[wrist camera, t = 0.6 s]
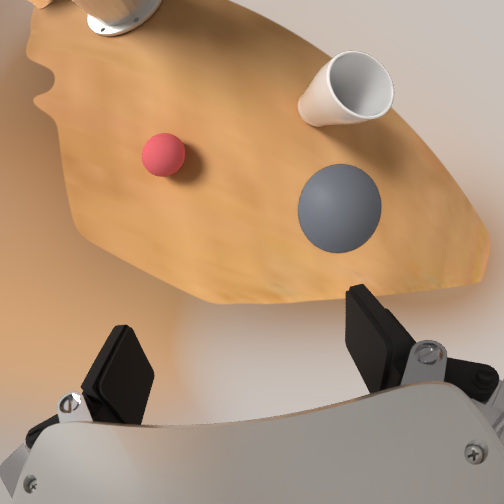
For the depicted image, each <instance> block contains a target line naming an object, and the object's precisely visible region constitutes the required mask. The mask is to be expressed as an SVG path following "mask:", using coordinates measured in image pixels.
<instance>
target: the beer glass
mask: <svg viewBox="0 0 504 504" xmlns="http://www.w3.org/2000/svg"><path fill="white" fill-rule="evenodd" d="M28 1H30V2H32V3H33V4H34V5H35V6H36V7H37V8H38V9H41V8H44V7H46V6H47V5H49V4H50V3H51V2H52V1H53V0H28Z"/></svg>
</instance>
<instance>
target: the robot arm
mask: <svg viewBox="0 0 504 504" xmlns="http://www.w3.org/2000/svg"><path fill="white" fill-rule="evenodd" d="M71 1H73V2H74V3H75V4H76V5H78V6H79V7H80V8H81V9H83V10H84V11H85V12H86V13H88V18H87V20H88V25H89V27H90V29H91V30H92V31H93V32H95V33H96V34H99V35H101V36H115V35H120V34H123V33H126V32H128V31H130V30H132V29H134V28H136V27H138V26H139V25H141V24H142V23H144V22H145V21H146V20H147V19H149V18H150V17H151V16H152V15H153V14H154V13H155V11H156V10H157V9H158V7H159V5H160V4H161V2H162V0H71ZM345 342H346V346H347V349H348V351H349V352H350V355H351V356H352V358H353V360H354V362H355V364H356V366H357V368H358V370H359V372H360V374H361V376H362V378H363V380H364V382H365V384H366V386H367V388H368V390H369V392H370V394H368V395H365V396H361V397H358V398H355V399H351V400H347V401H343V402H339V403H335V404H331V405H327V406H323V407H319V408H315V409H311V410H306V411H302V412H297V413H291V414H286V415H280V416H274V417H268V418H261V419H254V420H246V421H238V422H228V423H215V424H199V425H141V423H142V419H143V415H144V411H145V408H146V404H147V401H148V397H149V394H150V390H151V387H152V383H153V380H154V371H153V369H152V367H151V365H150V363H149V361H148V359H147V357H146V355H145V354H144V352H143V349H142V348H141V345H140V343H139V341H138V339H137V337H136V335H135V333H134V330H133V329H132V328H131V327H129V326H128V325H118V326H115V327H114V328H113V330H112V332H111V333H110V335H109V337H108V338H107V340H106V342H105V344H104V345H103V347H102V349H101V350H100V352H99V354H98V356H97V358H96V359H95V361H94V363H93V365H92V366H91V368H90V370H89V372H88V374H87V376H86V378H85V380H84V382H83V383H82V385H81V388H82V389H83V392H82V394H81V393H80V392H76V391H74V392H69V393H67V394H65V395H64V396H62V397H61V398H60V400H59V401H58V404H57V413H58V414H56V415H55V416H53V417H51V418H49V419H48V420H46V421H44V422H42V423H40V424H38V425H37V426H35V427H33V428H32V429H30V430H29V432H28V434H27V436H26V445H24V444H22V445H21V446H20V447H19V448H18V449H16V450H15V451H14V452H13V453H12V454H11V455H10V456H9V457H8V458H7V459H6V460H5V461H4V462H3V463H2V464H1V466H0V477H1V479H2V481H3V483H4V484H5V486H6V488H7V490H8V492H9V494H10V495H11V497H12V502H11V504H504V380H503V381H501V380H499V375H498V373H497V371H496V370H495V369H494V368H492V367H491V366H489V365H486V364H481V363H475V362H469V361H464V360H458V359H453V358H448V357H447V351H446V349H445V347H444V346H442V344H440V343H438V342H436V341H432V340H424V341H420V342H418V343H416V342H415V340H414V339H413V338H412V337H411V335H410V334H409V333H408V332H407V331H406V330H405V328H404V327H403V326H402V325H401V324H400V323H399V321H398V320H397V319H396V318H395V316H394V315H393V314H392V313H391V312H390V311H389V310H388V309H386V308H384V307H383V306H382V305H381V304H380V303H379V301H378V300H377V299H376V298H375V297H374V296H373V294H372V293H371V292H370V291H369V290H368V289H367V288H366V286H365V285H364V284H360V285H355V286H351V287H350V288H349V291H346V331H345Z"/></svg>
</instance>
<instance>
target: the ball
mask: <svg viewBox="0 0 504 504" xmlns="http://www.w3.org/2000/svg"><path fill="white" fill-rule="evenodd" d="M184 160H185V148H184V145H183V143H182V142H181V140H180V139H179V138H177V137H176V136H174V135H172V134H168V133H162V134H158V135H155V136H153V137H152V138H150V139H149V140H148V141H147V143H146V144H145V146H144V148H143V151H142V161H143V164H144V166H145V168H146V169H147V170H148V171H149V172H150V173H151V174H153V175H156V176H161V177H164V176H169V175H172V174H174V173H175V172H177V171H178V170H179V169H180V168H181V166H182V165H183V163H184Z"/></svg>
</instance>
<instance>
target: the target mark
mask: <svg viewBox="0 0 504 504" xmlns="http://www.w3.org/2000/svg"><path fill="white" fill-rule="evenodd" d="M380 214H381V199H380V195H379V192H378V189H377V187H376V185H375V183H374V182H373V180H372V179H371V178H370V177H369V175H367V174H366V173H365V172H364V171H362V170H361V169H359V168H357V167H354V166H351V165H345V164H337V165H331V166H328V167H325V168H323V169H321V170H320V171H318V172H317V173H315V174H314V175H313V176H312V177H311V178H310V179H309V181H308V182H307V183H306V185H305V186H304V188H303V190H302V192H301V195H300V199H299V204H298V217H299V222H300V225H301V228H302V230H303V232H304V234H305V235H306V237H307V238H308V239H309V240H310V242H311V243H313V244H314V245H315V246H317V247H318V248H320V249H322V250H324V251H327V252H332V253H343V252H348V251H351V250H354V249H356V248H358V247H359V246H361V245H362V244H364V243H365V242H366V241H367V240H368V239H369V238H370V237H371V235H372V234H373V232H374V231H375V229H376V227H377V225H378V222H379V219H380Z"/></svg>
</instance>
